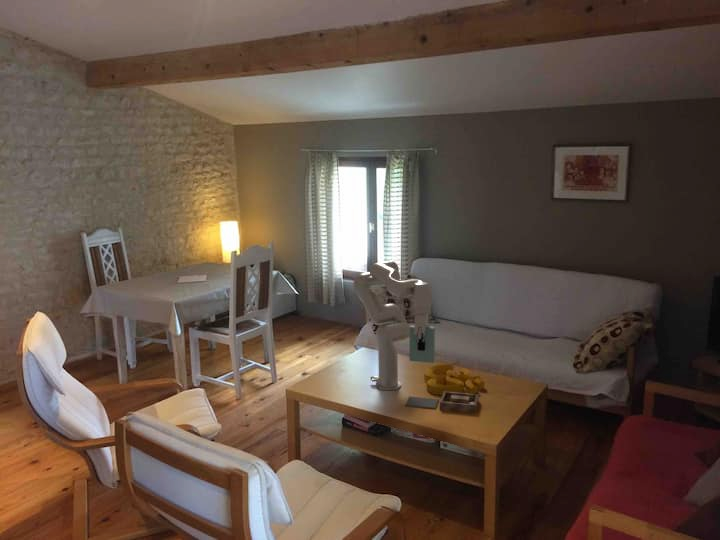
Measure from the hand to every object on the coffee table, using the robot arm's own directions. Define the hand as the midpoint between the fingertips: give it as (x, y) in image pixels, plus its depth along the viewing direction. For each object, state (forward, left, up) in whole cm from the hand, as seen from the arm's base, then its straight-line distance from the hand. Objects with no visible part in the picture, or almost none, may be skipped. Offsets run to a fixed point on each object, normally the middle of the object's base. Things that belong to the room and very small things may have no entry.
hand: (422, 348), depth 277 cm
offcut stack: (+19, 0, -27) cm, 32 cm away
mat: (0, 0, -26) cm, 26 cm away
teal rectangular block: (0, 0, -6) cm, 6 cm away
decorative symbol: (+11, +27, -27) cm, 40 cm away
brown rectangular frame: (+17, +1, -26) cm, 31 cm away
